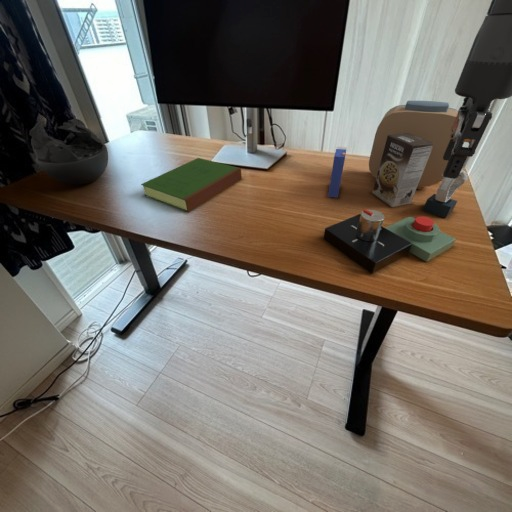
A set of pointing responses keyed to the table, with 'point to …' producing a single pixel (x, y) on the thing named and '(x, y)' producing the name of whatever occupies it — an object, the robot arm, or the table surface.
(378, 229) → the knob
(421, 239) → the button base
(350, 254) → the dial panel
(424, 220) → the button
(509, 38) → the robot arm
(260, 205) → the table surface
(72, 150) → the gray filled bowl
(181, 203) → the hardcover book
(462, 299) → the table surface
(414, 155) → the coffee box
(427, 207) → the watch
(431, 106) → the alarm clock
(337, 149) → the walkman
